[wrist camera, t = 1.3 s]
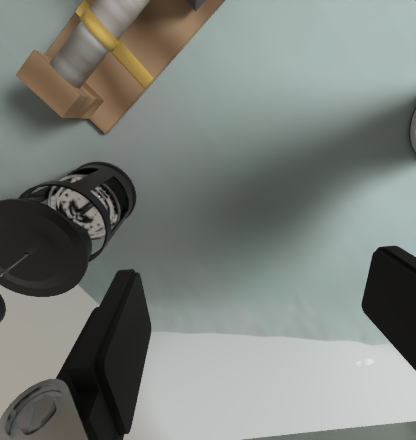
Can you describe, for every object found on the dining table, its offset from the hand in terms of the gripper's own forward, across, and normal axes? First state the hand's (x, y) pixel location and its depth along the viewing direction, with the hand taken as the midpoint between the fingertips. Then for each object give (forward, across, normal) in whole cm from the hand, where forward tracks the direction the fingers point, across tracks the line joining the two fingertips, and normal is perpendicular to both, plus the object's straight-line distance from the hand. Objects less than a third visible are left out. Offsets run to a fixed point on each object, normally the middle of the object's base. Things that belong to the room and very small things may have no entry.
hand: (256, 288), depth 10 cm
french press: (+27, +16, +3) cm, 31 cm away
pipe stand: (+26, +6, -18) cm, 33 cm away
